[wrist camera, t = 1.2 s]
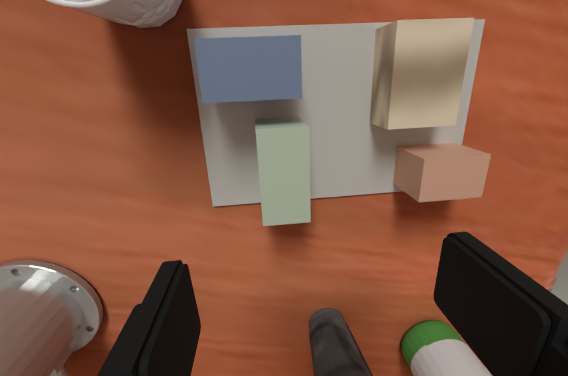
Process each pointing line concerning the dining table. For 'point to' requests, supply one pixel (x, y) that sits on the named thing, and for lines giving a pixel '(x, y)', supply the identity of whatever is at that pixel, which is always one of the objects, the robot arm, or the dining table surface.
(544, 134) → the dining table surface
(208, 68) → the slate blue block
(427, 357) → the wine bottle
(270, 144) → the sage block
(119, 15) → the white cup
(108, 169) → the dining table surface
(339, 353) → the beverage cup
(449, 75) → the beech block
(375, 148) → the felt placemat
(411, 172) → the terracotta block
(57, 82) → the dining table surface
